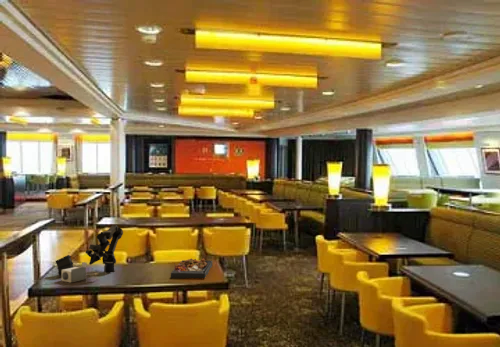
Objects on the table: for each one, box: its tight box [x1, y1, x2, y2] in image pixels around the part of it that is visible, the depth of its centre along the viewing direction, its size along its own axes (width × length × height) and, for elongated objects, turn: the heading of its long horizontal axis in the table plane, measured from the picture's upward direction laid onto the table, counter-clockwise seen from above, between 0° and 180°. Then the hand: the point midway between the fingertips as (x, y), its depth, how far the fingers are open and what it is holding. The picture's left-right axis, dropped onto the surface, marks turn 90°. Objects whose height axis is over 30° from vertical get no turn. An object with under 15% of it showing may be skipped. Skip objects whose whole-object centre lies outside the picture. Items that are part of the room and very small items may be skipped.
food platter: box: [170, 257, 213, 279], centre depth 378 cm, size 45×25×10 cm, turn 178°
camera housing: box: [61, 266, 80, 283], centre depth 350 cm, size 13×10×8 cm
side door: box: [71, 262, 88, 283], centre depth 347 cm, size 11×3×12 cm, turn 146°
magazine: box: [55, 254, 74, 277], centre depth 364 cm, size 4×13×15 cm, turn 78°
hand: (89, 264), depth 355 cm, fingers closed
